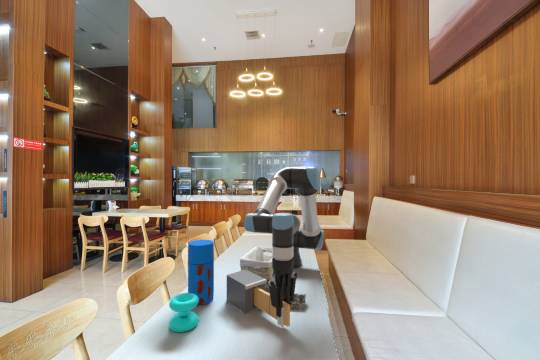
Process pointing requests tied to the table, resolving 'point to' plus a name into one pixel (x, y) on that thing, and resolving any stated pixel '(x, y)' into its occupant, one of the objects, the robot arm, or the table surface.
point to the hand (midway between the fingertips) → (282, 323)
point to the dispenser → (243, 289)
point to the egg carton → (298, 301)
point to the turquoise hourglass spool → (184, 312)
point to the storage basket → (258, 263)
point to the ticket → (269, 304)
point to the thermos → (201, 270)
